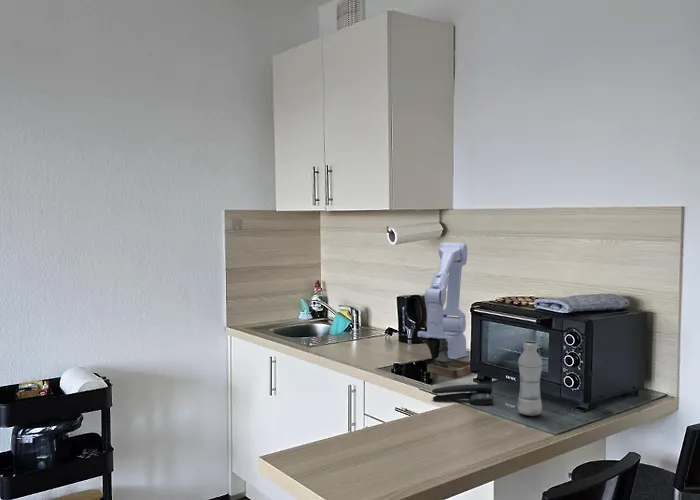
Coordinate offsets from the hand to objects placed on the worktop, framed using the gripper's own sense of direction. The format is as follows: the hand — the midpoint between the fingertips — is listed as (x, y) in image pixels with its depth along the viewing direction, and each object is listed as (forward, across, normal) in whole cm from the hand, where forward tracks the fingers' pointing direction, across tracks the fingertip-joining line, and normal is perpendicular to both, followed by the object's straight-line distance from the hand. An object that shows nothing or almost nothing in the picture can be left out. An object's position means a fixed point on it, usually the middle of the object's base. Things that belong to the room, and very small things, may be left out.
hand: (435, 359), depth 225 cm
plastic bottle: (+3, +51, -24) cm, 57 cm away
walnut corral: (+3, +8, 0) cm, 9 cm away
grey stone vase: (+3, +4, 0) cm, 5 cm away
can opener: (+3, +31, -27) cm, 41 cm away
